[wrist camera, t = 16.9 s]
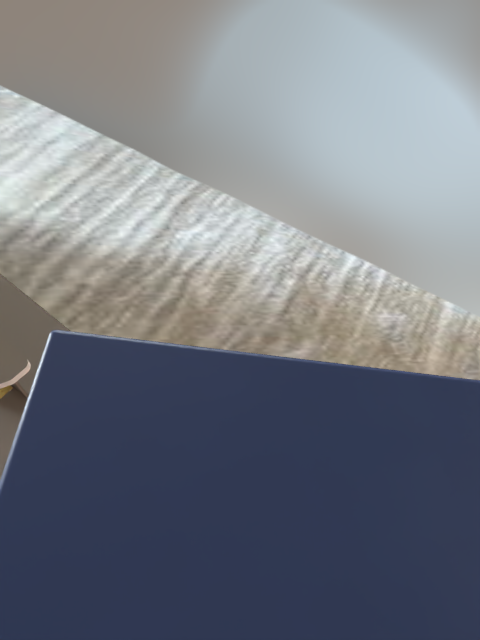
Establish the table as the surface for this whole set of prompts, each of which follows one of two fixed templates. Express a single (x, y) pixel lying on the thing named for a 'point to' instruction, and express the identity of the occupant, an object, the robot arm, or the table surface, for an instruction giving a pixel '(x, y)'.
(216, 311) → the table surface
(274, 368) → the carton
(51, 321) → the platform
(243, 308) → the table surface
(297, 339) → the table surface
